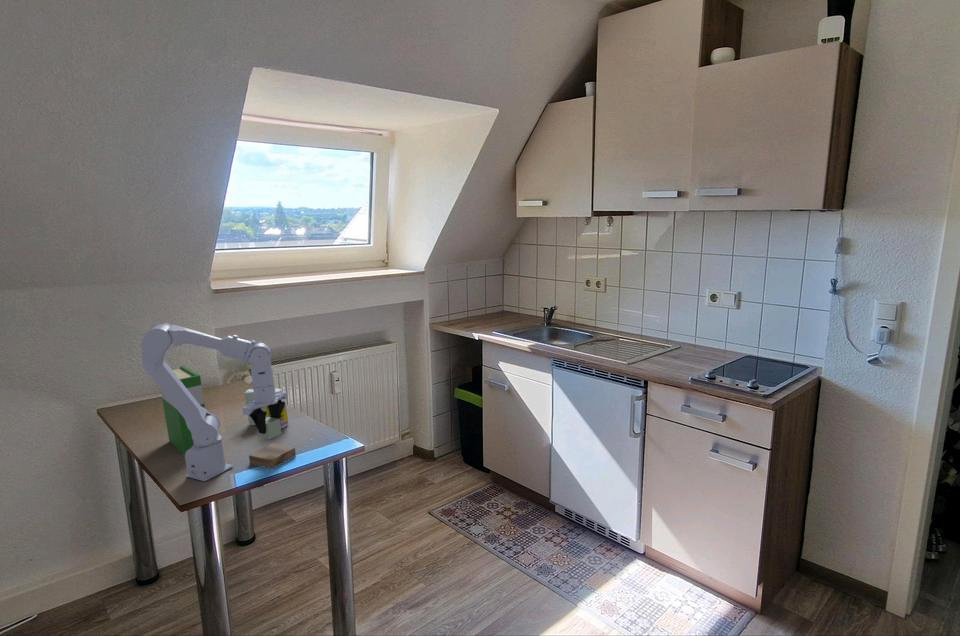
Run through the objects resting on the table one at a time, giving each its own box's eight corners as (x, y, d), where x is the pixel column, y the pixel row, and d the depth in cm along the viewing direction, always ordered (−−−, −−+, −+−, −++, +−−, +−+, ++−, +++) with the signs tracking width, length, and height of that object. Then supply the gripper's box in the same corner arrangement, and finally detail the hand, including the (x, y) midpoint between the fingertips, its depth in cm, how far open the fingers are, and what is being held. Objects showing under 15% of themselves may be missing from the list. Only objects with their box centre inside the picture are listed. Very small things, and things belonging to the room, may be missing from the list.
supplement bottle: (266, 431, 184) (262, 394, 182) (268, 424, 191) (264, 388, 188) (287, 428, 186) (283, 392, 184) (289, 421, 192) (284, 386, 190)
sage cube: (269, 439, 158) (267, 424, 157) (258, 436, 160) (256, 422, 159) (281, 433, 162) (279, 418, 161) (270, 431, 164) (268, 416, 163)
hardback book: (169, 441, 180) (157, 370, 175) (193, 434, 185) (183, 365, 180) (185, 457, 167) (173, 381, 162) (211, 449, 172) (200, 375, 167)
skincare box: (270, 420, 195) (266, 387, 192) (266, 424, 190) (262, 391, 188) (252, 421, 194) (248, 388, 192) (248, 426, 190) (243, 392, 188)
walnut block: (272, 470, 156) (271, 460, 156) (250, 465, 160) (248, 455, 160) (296, 457, 164) (294, 447, 164) (273, 452, 168) (272, 443, 168)
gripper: (253, 394, 150) (259, 441, 152) (292, 379, 162) (297, 422, 165) (235, 391, 153) (241, 437, 156) (275, 376, 166) (280, 419, 168)
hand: (269, 429), depth 160 cm, fingers closed on sage cube, 4 cm apart
